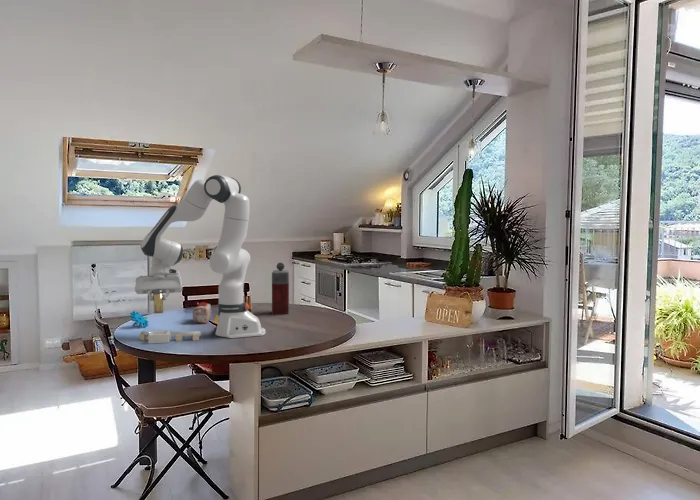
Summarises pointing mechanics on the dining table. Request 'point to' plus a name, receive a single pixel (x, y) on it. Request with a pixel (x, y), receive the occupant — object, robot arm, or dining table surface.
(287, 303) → the red grey bottle
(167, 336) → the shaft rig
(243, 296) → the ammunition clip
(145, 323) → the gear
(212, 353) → the dining table surface
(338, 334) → the dining table surface
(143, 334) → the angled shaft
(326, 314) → the dining table surface
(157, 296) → the yellow jar
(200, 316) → the food item
